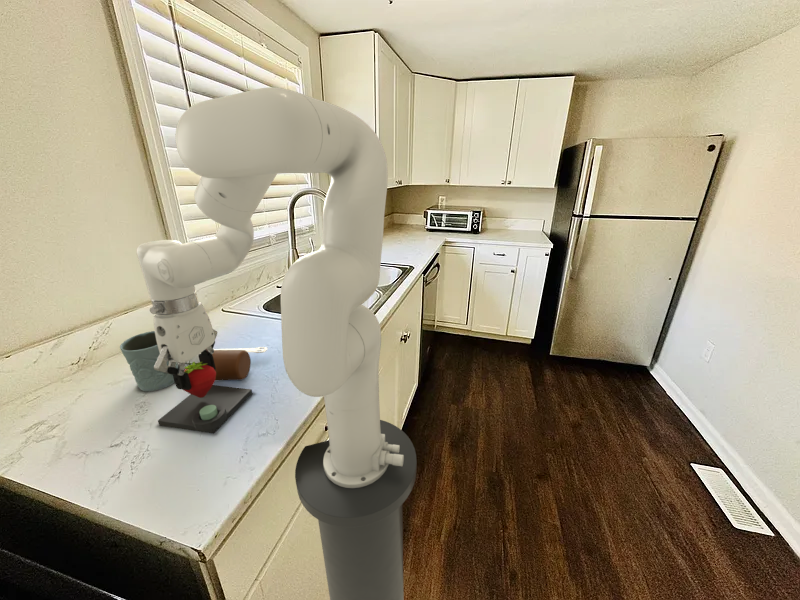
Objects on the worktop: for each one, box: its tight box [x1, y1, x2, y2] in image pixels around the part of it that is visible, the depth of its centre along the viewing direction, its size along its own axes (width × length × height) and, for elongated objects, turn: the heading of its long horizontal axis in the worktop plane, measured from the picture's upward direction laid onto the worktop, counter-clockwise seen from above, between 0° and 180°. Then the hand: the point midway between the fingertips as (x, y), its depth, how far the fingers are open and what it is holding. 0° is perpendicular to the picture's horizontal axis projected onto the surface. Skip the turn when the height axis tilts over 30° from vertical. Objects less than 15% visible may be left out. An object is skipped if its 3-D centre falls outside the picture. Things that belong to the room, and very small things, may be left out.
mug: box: [212, 350, 252, 382], centre depth 85 cm, size 12×8×9 cm
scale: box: [157, 384, 253, 435], centre depth 72 cm, size 14×14×3 cm
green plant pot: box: [119, 330, 178, 392], centre depth 80 cm, size 10×10×12 cm
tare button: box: [199, 405, 218, 420], centre depth 66 cm, size 3×3×2 cm
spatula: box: [176, 346, 268, 365], centre depth 92 cm, size 28×6×3 cm, turn 93°
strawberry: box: [183, 361, 216, 398], centre depth 71 cm, size 6×8×10 cm
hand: (197, 378), depth 71 cm, fingers closed on strawberry, 6 cm apart
